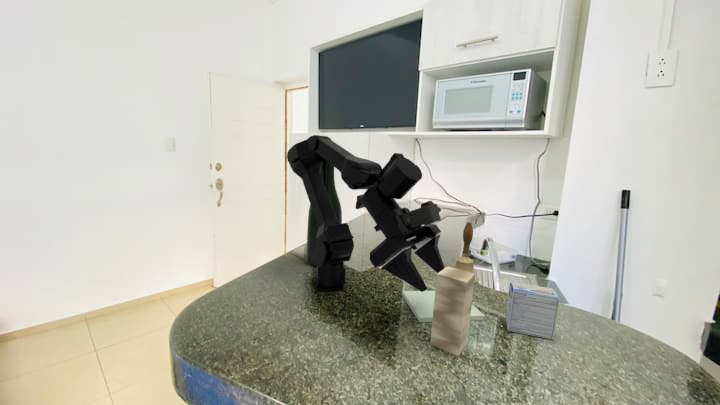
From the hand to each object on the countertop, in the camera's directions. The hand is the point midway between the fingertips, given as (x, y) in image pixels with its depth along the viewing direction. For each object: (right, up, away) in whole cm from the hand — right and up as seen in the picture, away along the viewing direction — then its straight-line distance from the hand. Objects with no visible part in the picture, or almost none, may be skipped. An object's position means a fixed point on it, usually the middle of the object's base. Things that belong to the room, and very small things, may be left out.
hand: (435, 282), depth 53 cm
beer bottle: (-25, -4, +37) cm, 45 cm away
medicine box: (+20, -11, +5) cm, 23 cm away
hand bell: (+16, -7, +31) cm, 35 cm away
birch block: (+2, -11, 0) cm, 11 cm away
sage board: (+4, -9, +13) cm, 16 cm away
